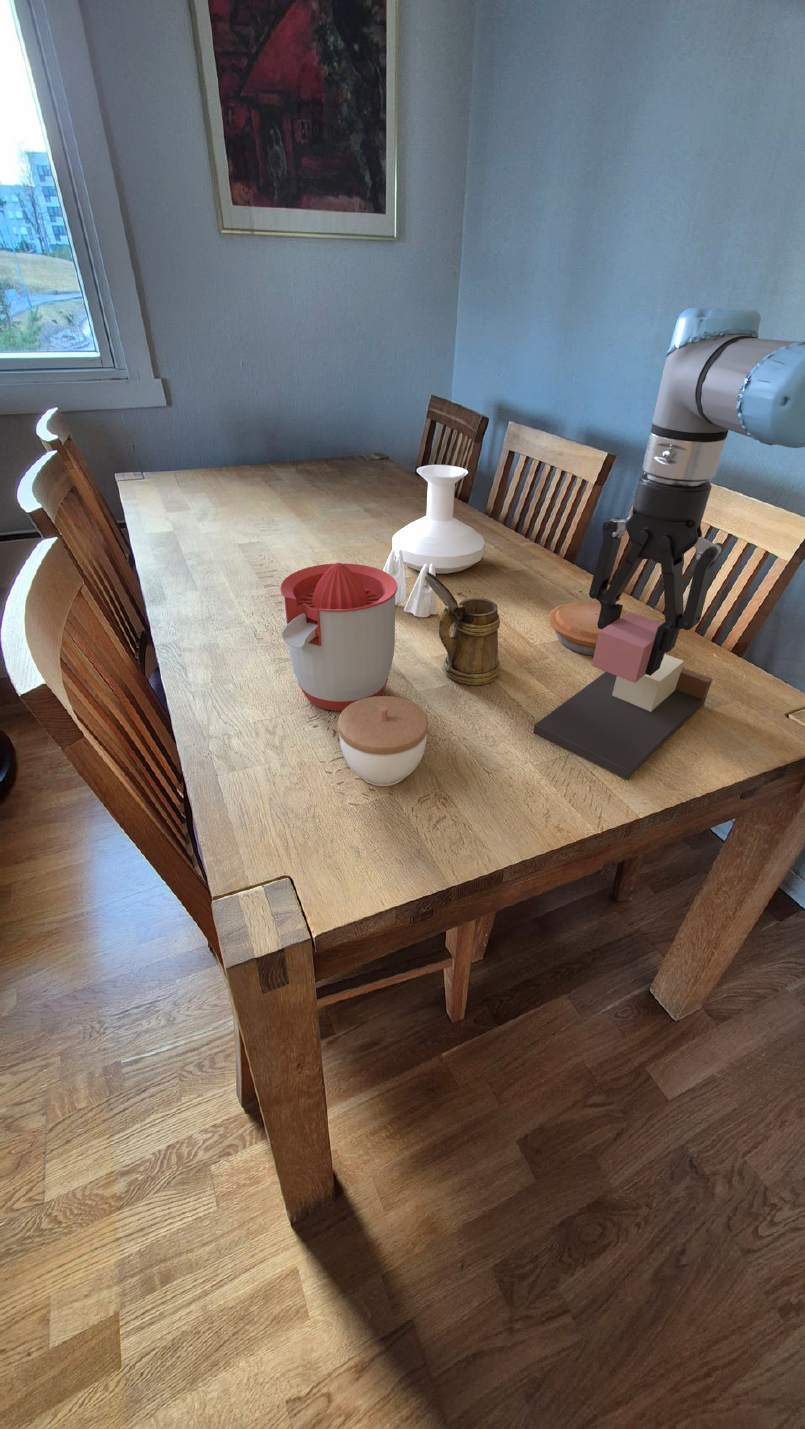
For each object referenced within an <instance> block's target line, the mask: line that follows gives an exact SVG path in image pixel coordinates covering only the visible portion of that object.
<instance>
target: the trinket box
mask: <svg viewBox="0 0 805 1429" xmlns="http://www.w3.org/2000/svg"><path fill="white" fill-rule="evenodd" d="M340 712H341V713H340V714H339V716H338V719H337V729H338V730H337V731H338V733H339V735H338V736H339V744H340V749H341V753H342V756H343V759H344V762H345V763H346V764H347V767H348V768H349V769H350V770H351V772H353V773H354V774H355V775H356V776H357V777H359V778H361V780H363V781H364V782H365V783H367V784H369V785H372V786H376V787H391V786H393V785H396V784H399V783H400V782H402V781H403V780H405V779H406V778H407V777H408V776H410V775H411V774H413V772H414V771H415V770H416V769H417V767H418V766H419V764H420V763H421V761H422V759H423V756H424V754H425V750H426V745H427V738H428V737H427V736H428V735H427V734H428V730H429V719H428V716H427V714H426V712H425V711H424V710H423V709H422V708H421V707H420V706H419V705H417V704H416V703H414V702H412V701H411V700H408V699H405V698H402V697H397V696H390V695H380V696H374V697H368V698H364V699H361V700H358V701H356V702H354V703H352V704H350V705H349V706H347V707H346V708H345V709H344V710H343V711H340Z"/></svg>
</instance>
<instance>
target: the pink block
mask: <svg viewBox="0 0 805 1429" xmlns="http://www.w3.org/2000/svg"><path fill="white" fill-rule="evenodd" d="M663 623H664V622H661V621H659V620H655V619H653V618H649V617H646V616H643V615H641V614H638V613H634V612H632V611H627V613H626V614H625V615H623V616H622V617H620V618H619V619H617V620H616V621H614V622H613V623H611V624H610V625H608V626H607V627H605V628H604V629H602V630H601V631H599V635H598V640H597V644H596V649H595V653H594V656H593V659H592V663H591V667H594V668H596V669H598V670H601V671H604V672H609V673H611V674H614V675H616V676H619V677H621V678H624V679H626V680H628V681H631V682H633V683H635V682H637V681H638V680H639V679H640V678H642V677H643V676H644V675H645V672H646V669H647V665H648V661H649V658H650V654H651V651H652V647H653V644H654V639H655V636H656V632H657V629H658V627H659V626H660V625H662V624H663ZM665 654H666V653H665V652H664V655H665ZM663 658H664V656H663ZM662 660H663V659H662Z"/></svg>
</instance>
